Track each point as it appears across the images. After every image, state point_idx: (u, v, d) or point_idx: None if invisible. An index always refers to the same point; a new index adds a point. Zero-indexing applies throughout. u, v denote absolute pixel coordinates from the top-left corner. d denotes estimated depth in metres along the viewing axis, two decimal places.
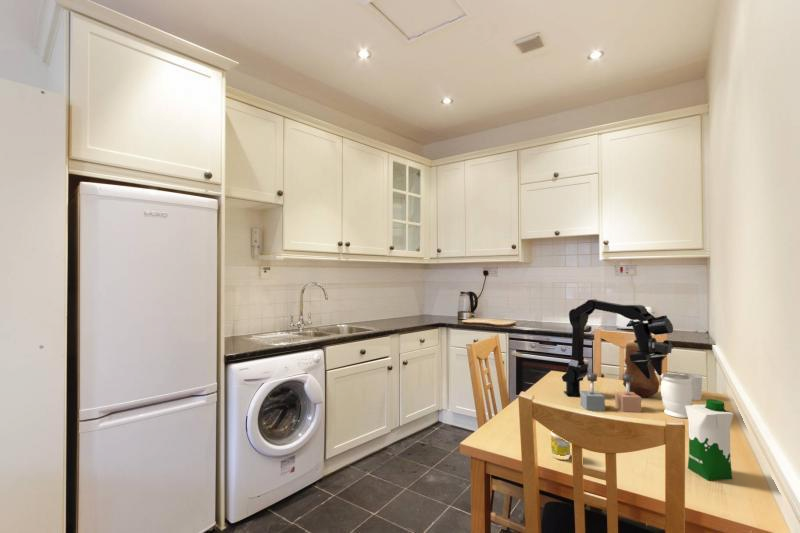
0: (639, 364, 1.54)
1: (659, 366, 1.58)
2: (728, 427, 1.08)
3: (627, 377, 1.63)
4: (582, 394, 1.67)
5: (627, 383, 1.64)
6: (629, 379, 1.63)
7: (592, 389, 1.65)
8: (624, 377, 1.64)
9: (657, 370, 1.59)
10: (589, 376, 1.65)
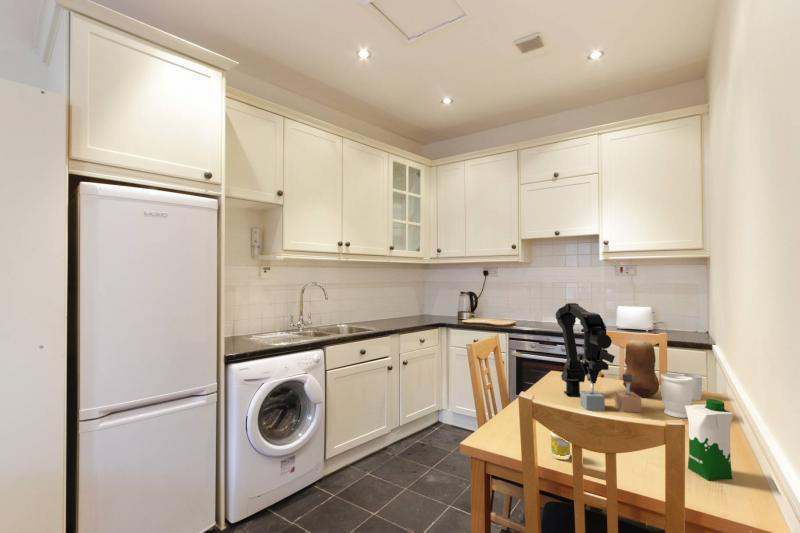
0: (591, 370, 1.62)
1: None
2: (728, 427, 1.08)
3: (627, 377, 1.63)
4: (582, 394, 1.67)
5: (627, 383, 1.64)
6: (629, 379, 1.63)
7: (592, 389, 1.65)
8: (624, 377, 1.64)
9: None
10: (589, 376, 1.65)
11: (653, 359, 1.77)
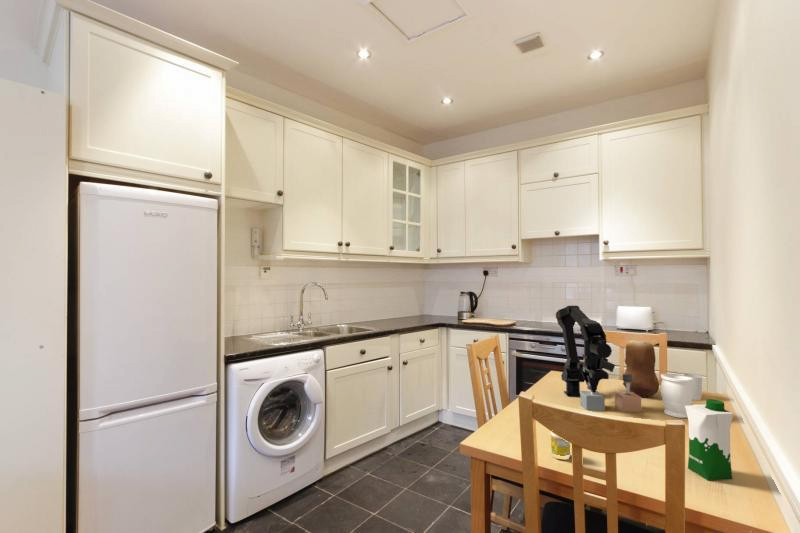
0: (592, 379, 1.62)
1: None
2: (728, 427, 1.08)
3: (627, 377, 1.63)
4: (582, 394, 1.67)
5: (627, 383, 1.64)
6: (629, 379, 1.63)
7: None
8: (624, 377, 1.64)
9: None
10: (589, 385, 1.65)
11: (653, 359, 1.77)
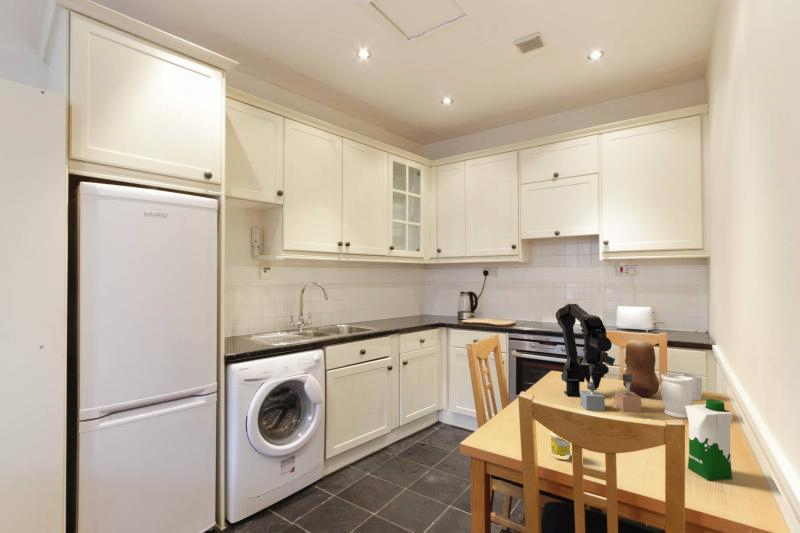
0: (594, 374, 1.60)
1: (588, 374, 1.70)
2: (728, 427, 1.08)
3: (627, 377, 1.63)
4: (582, 394, 1.67)
5: (627, 383, 1.64)
6: (629, 379, 1.63)
7: None
8: (624, 377, 1.64)
9: (586, 378, 1.70)
10: (589, 385, 1.65)
11: (653, 359, 1.77)
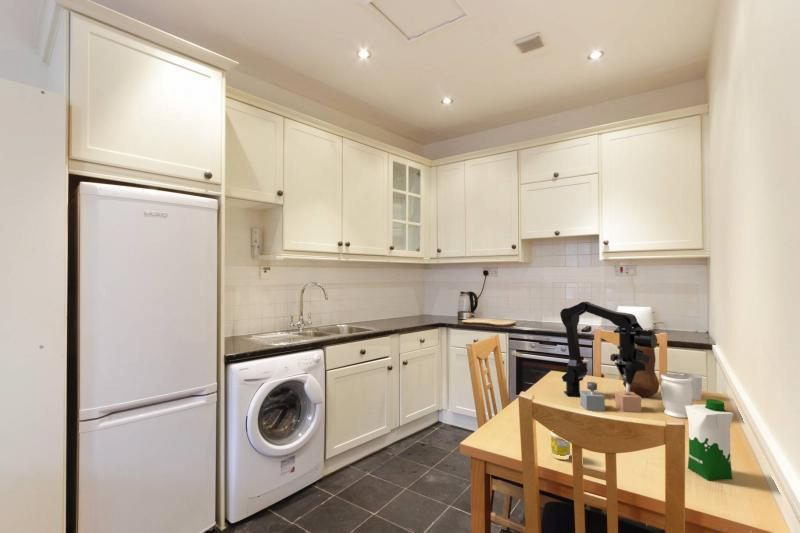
0: (628, 371, 1.61)
1: None
2: (728, 427, 1.08)
3: None
4: (582, 394, 1.67)
5: (627, 383, 1.64)
6: None
7: None
8: (624, 377, 1.64)
9: None
10: (589, 385, 1.65)
11: (653, 359, 1.77)
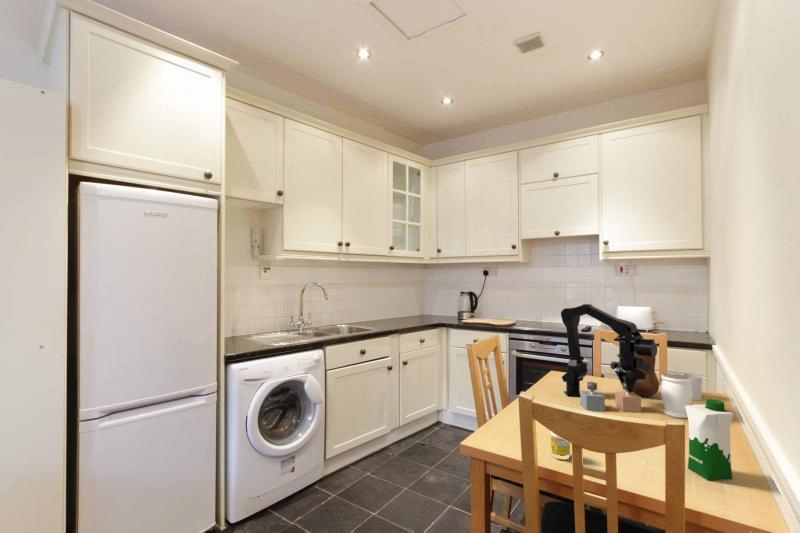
0: (628, 379, 1.61)
1: None
2: (728, 427, 1.08)
3: None
4: (582, 394, 1.67)
5: (627, 391, 1.64)
6: None
7: None
8: (624, 385, 1.64)
9: None
10: (589, 385, 1.65)
11: (653, 359, 1.77)
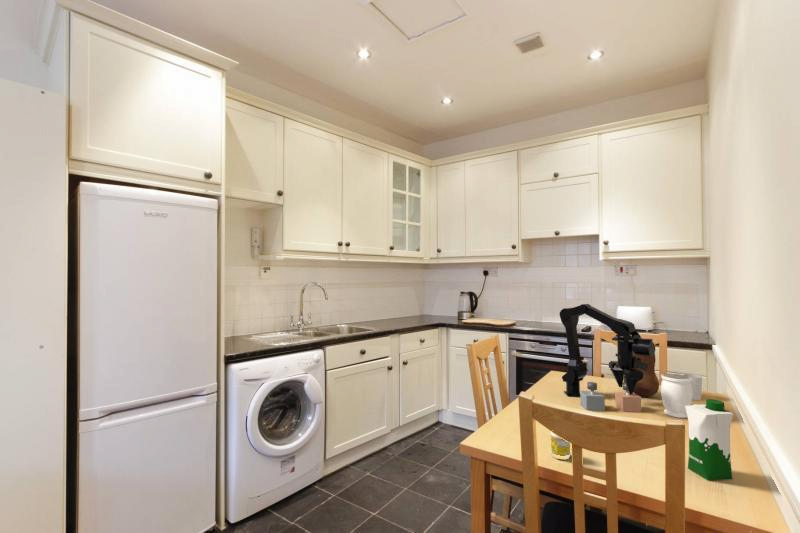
0: (629, 380, 1.59)
1: (621, 379, 1.70)
2: (728, 427, 1.08)
3: None
4: (582, 394, 1.67)
5: (627, 392, 1.64)
6: None
7: None
8: (624, 386, 1.64)
9: (619, 383, 1.69)
10: (589, 385, 1.65)
11: (653, 359, 1.77)
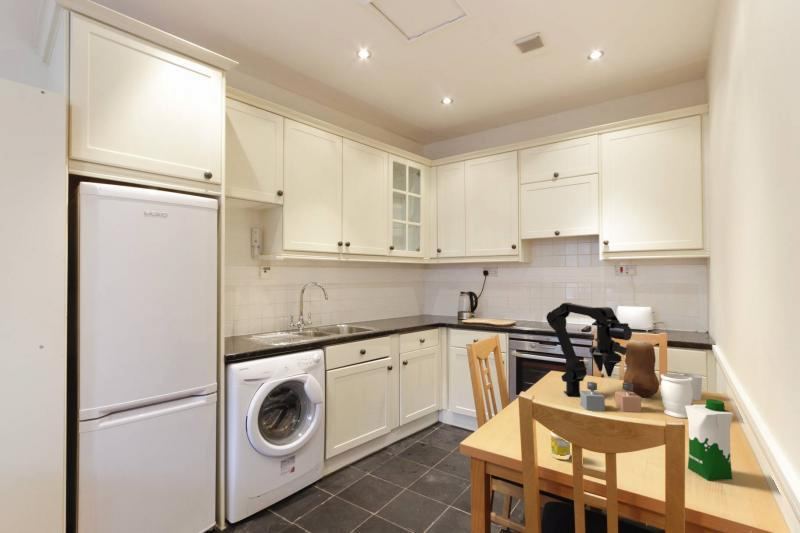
0: (607, 363, 1.64)
1: (601, 363, 1.75)
2: (728, 427, 1.08)
3: (627, 386, 1.63)
4: (582, 394, 1.67)
5: (627, 392, 1.64)
6: (629, 388, 1.63)
7: None
8: (624, 386, 1.64)
9: (599, 367, 1.75)
10: (589, 385, 1.65)
11: (653, 359, 1.77)
